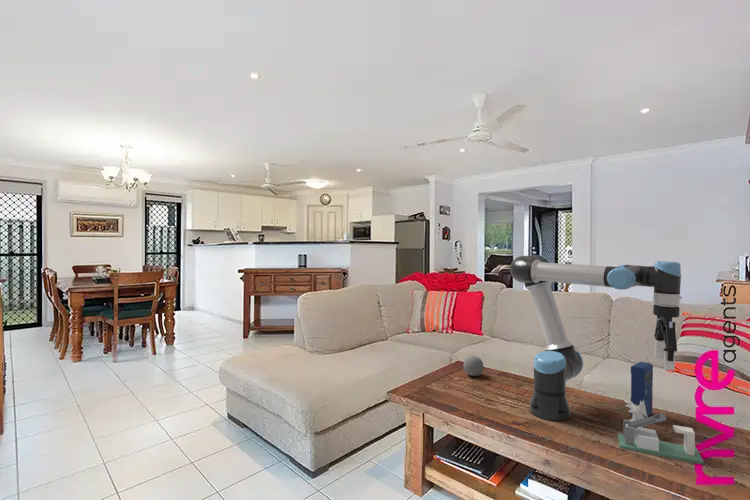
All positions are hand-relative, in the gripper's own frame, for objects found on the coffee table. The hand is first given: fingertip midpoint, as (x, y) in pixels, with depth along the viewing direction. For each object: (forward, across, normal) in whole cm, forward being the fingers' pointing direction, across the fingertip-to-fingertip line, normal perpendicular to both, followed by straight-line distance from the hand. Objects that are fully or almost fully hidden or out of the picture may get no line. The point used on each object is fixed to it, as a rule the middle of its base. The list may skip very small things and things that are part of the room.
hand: (664, 364), depth 141 cm
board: (+25, -14, +4) cm, 29 cm away
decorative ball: (+27, +33, +73) cm, 84 cm away
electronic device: (+25, +13, +4) cm, 29 cm away
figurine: (+25, -2, +8) cm, 27 cm away
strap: (+17, -14, +7) cm, 23 cm away
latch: (+24, -15, -3) cm, 28 cm away
